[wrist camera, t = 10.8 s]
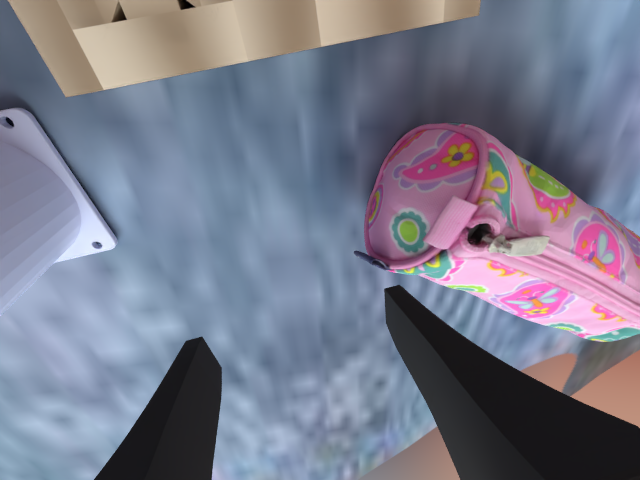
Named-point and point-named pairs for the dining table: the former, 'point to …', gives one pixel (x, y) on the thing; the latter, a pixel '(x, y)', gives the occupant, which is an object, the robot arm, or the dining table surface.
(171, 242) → the dining table surface
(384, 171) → the pencil case
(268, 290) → the dining table surface
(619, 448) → the robot arm
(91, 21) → the socket plate
